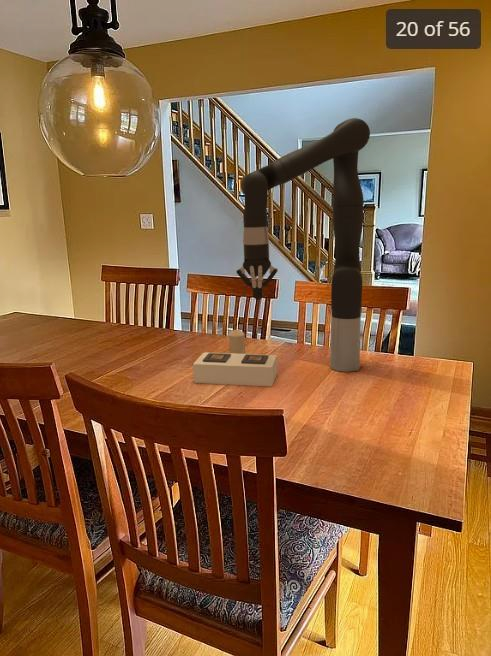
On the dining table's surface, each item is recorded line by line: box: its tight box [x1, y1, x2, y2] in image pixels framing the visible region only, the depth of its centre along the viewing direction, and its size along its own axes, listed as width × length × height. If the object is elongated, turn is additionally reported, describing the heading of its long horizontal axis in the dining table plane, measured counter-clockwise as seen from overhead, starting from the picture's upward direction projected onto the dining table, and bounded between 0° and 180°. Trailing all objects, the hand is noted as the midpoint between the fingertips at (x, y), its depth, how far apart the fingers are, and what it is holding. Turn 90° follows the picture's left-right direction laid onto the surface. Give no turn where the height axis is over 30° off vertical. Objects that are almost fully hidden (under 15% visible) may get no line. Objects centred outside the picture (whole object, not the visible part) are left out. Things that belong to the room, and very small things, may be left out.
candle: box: [228, 329, 246, 354], centre depth 172 cm, size 6×6×10 cm
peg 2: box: [248, 356, 263, 361], centre depth 152 cm, size 4×4×7 cm
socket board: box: [192, 352, 278, 387], centre depth 153 cm, size 24×12×7 cm, turn 79°
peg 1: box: [210, 355, 225, 359], centre depth 154 cm, size 4×4×7 cm
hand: (258, 299), depth 151 cm, fingers closed
